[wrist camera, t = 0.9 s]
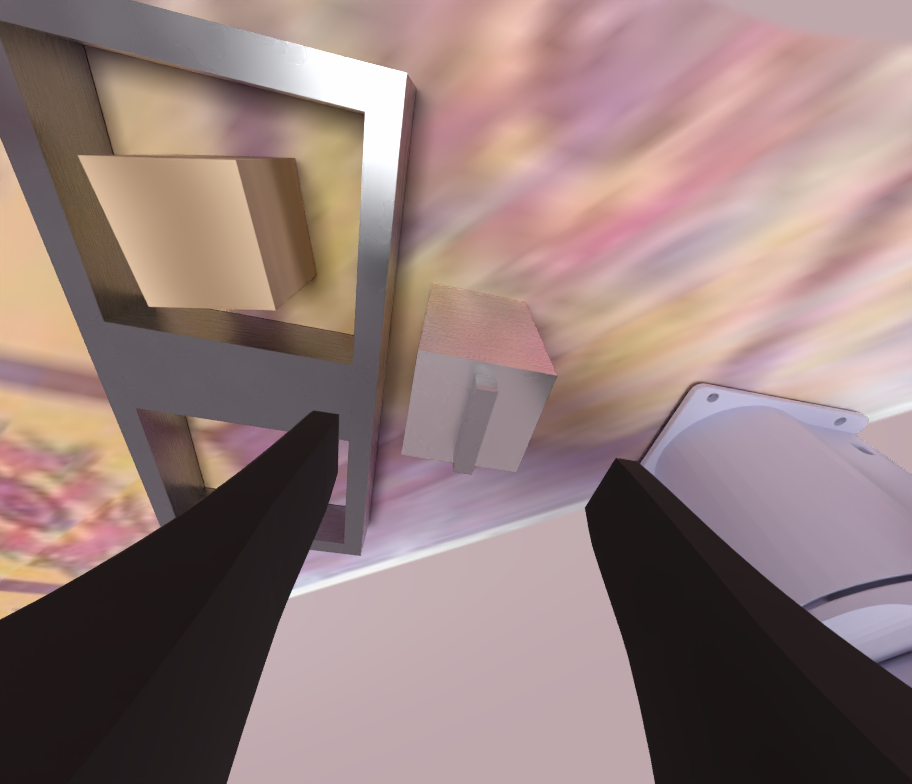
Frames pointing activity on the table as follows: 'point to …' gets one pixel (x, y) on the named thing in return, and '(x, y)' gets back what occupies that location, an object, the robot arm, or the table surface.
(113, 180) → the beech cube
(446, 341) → the grey block with tab
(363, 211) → the grey slotted frame
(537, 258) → the table surface
